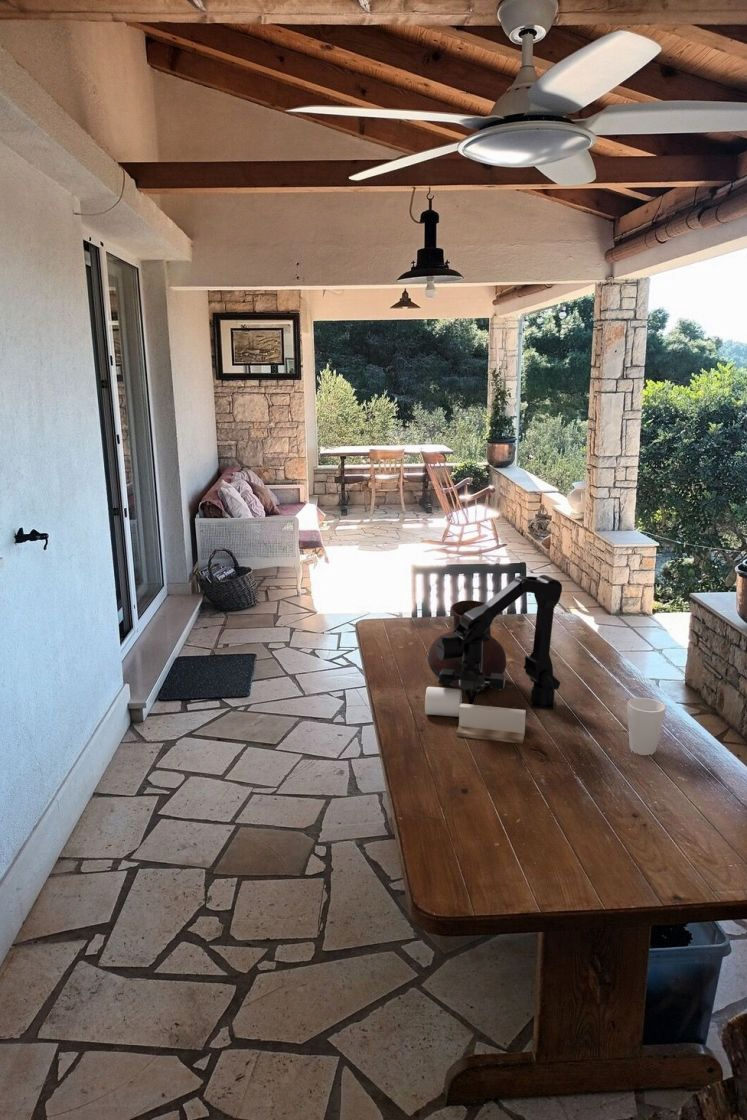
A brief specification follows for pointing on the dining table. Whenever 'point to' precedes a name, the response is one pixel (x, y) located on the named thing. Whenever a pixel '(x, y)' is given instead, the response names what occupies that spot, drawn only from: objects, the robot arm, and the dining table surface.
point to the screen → (491, 723)
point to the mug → (443, 701)
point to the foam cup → (644, 724)
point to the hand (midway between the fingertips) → (471, 706)
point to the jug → (490, 659)
